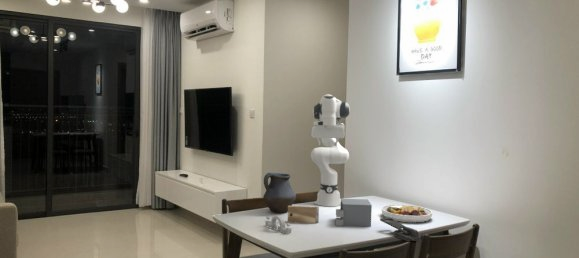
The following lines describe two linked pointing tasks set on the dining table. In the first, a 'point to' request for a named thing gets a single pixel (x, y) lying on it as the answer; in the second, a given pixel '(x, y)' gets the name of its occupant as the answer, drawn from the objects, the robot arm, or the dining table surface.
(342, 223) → the cabinet
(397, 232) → the dark grey clamp
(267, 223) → the gateway
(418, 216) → the bowl
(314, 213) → the cabinet door
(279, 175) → the pitcher
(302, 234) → the dining table surface
